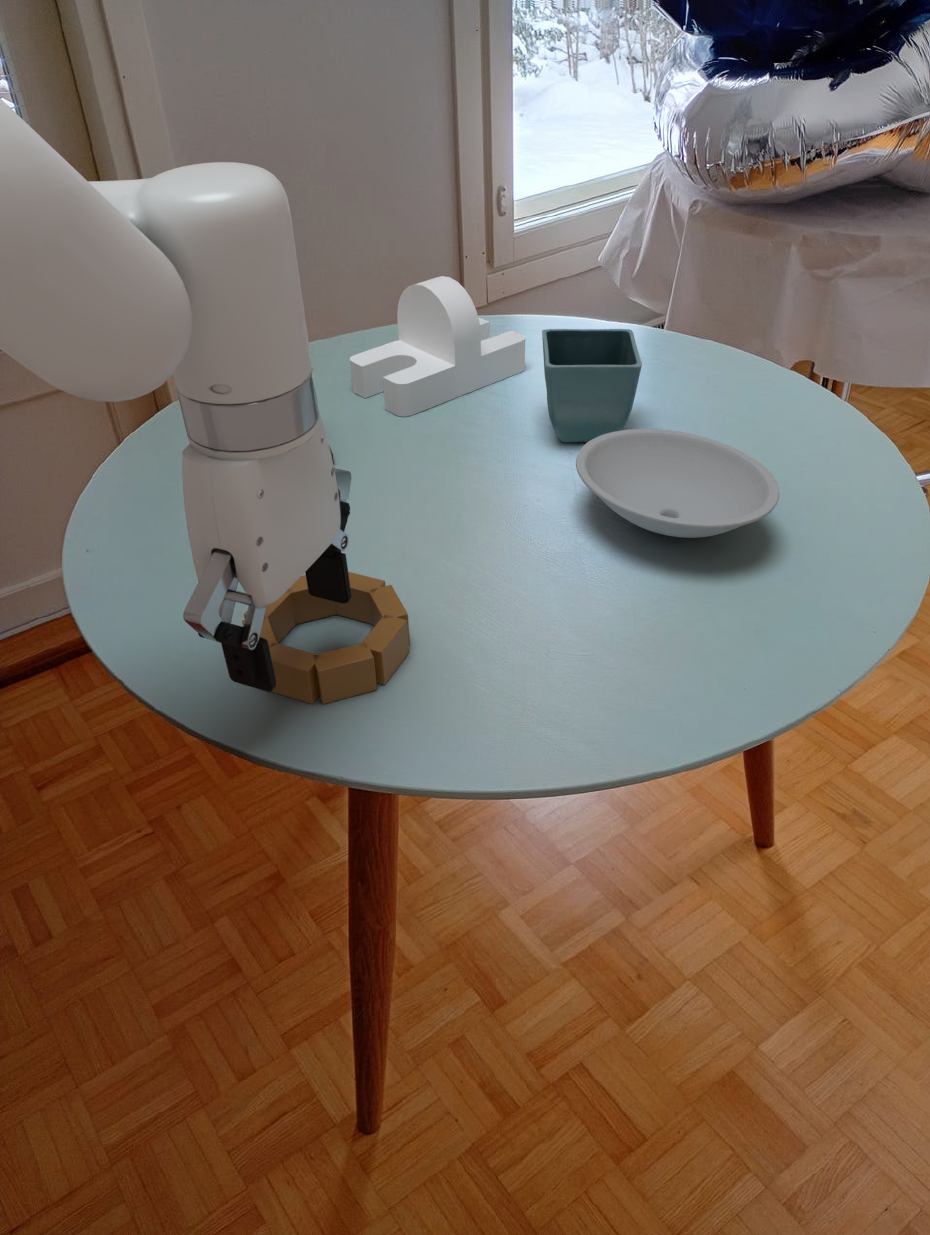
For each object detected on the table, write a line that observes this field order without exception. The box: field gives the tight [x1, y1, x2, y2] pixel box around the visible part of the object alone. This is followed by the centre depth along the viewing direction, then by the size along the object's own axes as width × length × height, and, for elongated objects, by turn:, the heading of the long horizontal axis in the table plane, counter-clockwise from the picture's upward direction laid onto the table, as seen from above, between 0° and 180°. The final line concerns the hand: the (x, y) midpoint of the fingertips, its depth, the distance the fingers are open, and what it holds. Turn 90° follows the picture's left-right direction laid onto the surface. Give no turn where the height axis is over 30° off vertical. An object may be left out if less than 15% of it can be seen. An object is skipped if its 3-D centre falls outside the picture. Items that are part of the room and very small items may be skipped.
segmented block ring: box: [241, 571, 411, 705], centre depth 71 cm, size 11×11×3 cm
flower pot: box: [541, 328, 643, 443], centre depth 95 cm, size 9×9×9 cm
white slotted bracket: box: [349, 275, 526, 418], centre depth 105 cm, size 10×18×11 cm, turn 131°
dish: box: [575, 428, 780, 539], centre depth 83 cm, size 18×14×5 cm
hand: (294, 638), depth 66 cm, fingers open, 9 cm apart
